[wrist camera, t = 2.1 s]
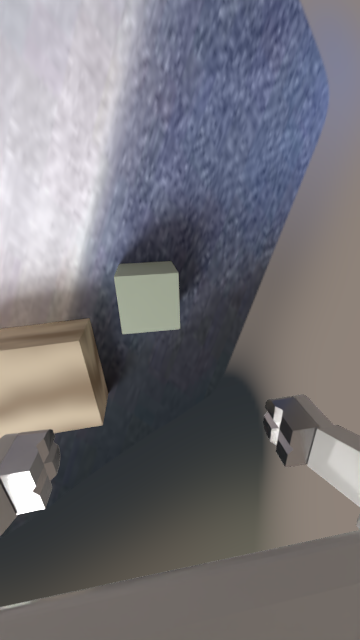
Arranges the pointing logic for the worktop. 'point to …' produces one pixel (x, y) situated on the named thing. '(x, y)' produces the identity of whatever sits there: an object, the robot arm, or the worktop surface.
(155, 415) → the worktop surface
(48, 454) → the robot arm
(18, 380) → the birch block
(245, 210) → the worktop surface
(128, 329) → the sage block
